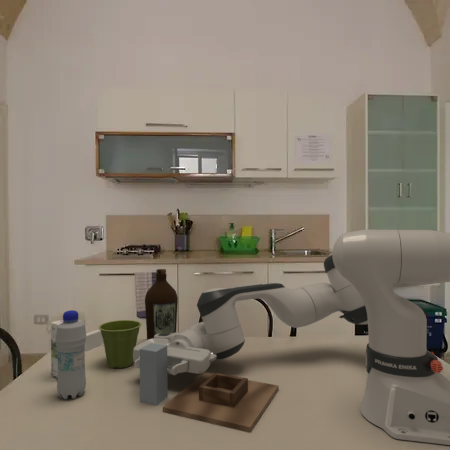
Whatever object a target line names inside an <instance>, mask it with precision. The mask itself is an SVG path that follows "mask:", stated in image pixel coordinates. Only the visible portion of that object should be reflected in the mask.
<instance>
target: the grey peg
mask: <svg viewBox="0 0 450 450" xmlns="http://www.w3.org/2000/svg"><path fill="white" fill-rule="evenodd" d="M168 388H169V387H168V368H167V345H160V344H154V343H150V344H148V345H146V346H144V347H143V348H141V349H140V369H139V402H140V403H145V404H148V405H149V404H150V405H153V406H158V405H159V404H160V403H162V402H163V401H164V400H165V399H167V398H168V391H169V389H168Z"/></svg>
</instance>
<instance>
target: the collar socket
mask: <svg viewBox="0 0 450 450" xmlns="http://www.w3.org/2000/svg"><path fill="white" fill-rule="evenodd" d="M277 392H279V385H277V384H272V383H268V382H267V383H266V382H261V381H255V380H249V378H246V377H242V376H236V375H231V374H230V375H229V374H227V373H226V374H225V373H220V372H214V373H209V372H207V371H205V372H204V373H201V374H200V376H198V377H197V378H196V379H195V380H194V381H192V382H191V383H190V384H189V385H187V386H186V387H185V388H184V389H183V390H181V391H180V392H178V394H176V395H175V396H174V397H173V398H172V399H170V400H169V401H167V402H166V403H165V404H164V405H163V406H162V412H164V413H168V414H172V415H175V416H179V417H184V418H188V419H189V418H190V419H194V420H198V421H201V422H205V423H209V424H212V425H218V426H222V427H225V428H226V427H227V428H230V429H234V430H239V431H243V432H246V433H247V432H248V433H251V432H252V431H253V429H254V427H255V426H256V425H257V423H258V421H259V420H260V418H261V417H262V415H263V414H264V412H265V411H266V409H267V408H268V406H269V405H270V403H271V402H272V401H273V399H274V397H275V396H276V394H278V393H277Z"/></svg>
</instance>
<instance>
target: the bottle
mask: <svg viewBox="0 0 450 450" xmlns="http://www.w3.org/2000/svg"><path fill="white" fill-rule="evenodd" d="M62 319H63V323H61V324H59V325H58V326H57V334H56V346H57V348H58V378H56V379H57V380H56V383H57V384H56V391H57V394H58V397H59V398H63V400H68V399H69V396H71V399H72V400H75V399H76V398H77V396H78V397H80V396H82V395H84V392H85V389H86V386H87V385H86V384H87V381H86V380H87V378H86V368H85V365H86V362H85V361H86V359H85V358H86V355H85V353H86V351H85V343H86V333H87V332H86V325H85V322H83V321H81V320H79V313H78V311H77V310H75V309H74V310H67V311H65V312H64V313H63V315H62ZM78 320H79V321H78Z"/></svg>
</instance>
